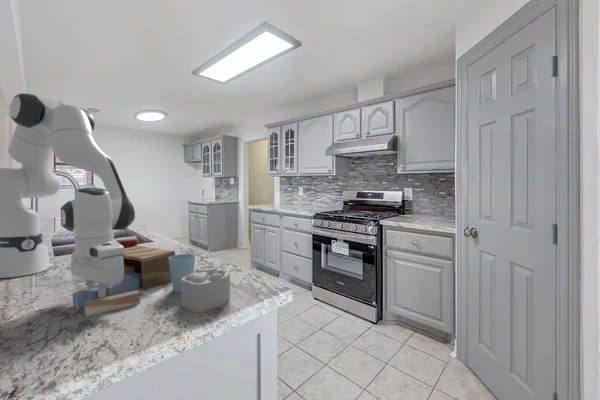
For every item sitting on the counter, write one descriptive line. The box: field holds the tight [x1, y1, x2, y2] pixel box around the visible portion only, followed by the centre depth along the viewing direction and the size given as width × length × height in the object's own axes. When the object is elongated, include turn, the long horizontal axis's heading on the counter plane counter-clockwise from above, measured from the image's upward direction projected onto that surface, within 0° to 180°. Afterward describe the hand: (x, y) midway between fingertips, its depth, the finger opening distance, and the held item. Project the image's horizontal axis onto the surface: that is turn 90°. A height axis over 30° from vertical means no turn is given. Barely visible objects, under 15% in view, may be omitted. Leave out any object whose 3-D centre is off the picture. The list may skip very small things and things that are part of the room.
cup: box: [168, 253, 196, 294], centre depth 89 cm, size 8×8×10 cm
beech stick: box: [83, 290, 141, 318], centre depth 76 cm, size 3×12×3 cm, turn 135°
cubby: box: [121, 245, 176, 291], centre depth 98 cm, size 20×12×10 cm, turn 62°
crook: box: [72, 272, 142, 310], centre depth 86 cm, size 10×19×4 cm, turn 152°
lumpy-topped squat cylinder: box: [180, 267, 231, 313], centre depth 80 cm, size 10×13×9 cm
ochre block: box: [124, 265, 134, 273], centre depth 98 cm, size 6×4×4 cm
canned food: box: [115, 236, 138, 248], centre depth 119 cm, size 8×8×11 cm
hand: (96, 295), depth 80 cm, fingers closed on crook, 3 cm apart
